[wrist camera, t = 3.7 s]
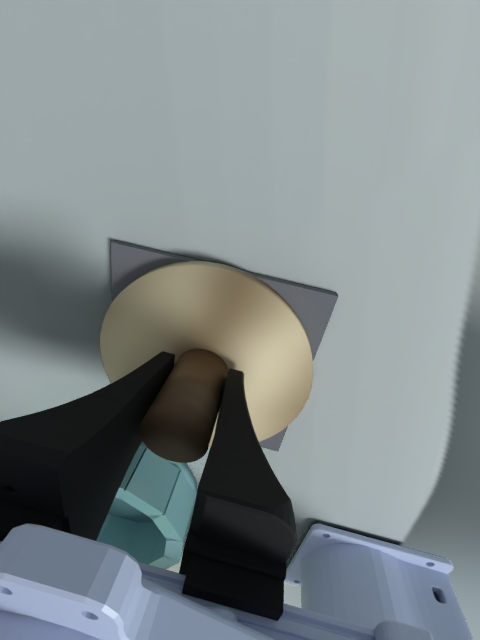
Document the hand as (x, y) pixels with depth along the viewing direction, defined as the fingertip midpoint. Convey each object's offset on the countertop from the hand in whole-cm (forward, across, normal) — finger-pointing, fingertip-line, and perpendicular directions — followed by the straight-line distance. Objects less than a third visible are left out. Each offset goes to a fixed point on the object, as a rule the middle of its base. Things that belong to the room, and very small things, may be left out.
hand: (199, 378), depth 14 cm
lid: (+1, 0, 0) cm, 1 cm away
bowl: (+2, +4, +12) cm, 13 cm away
